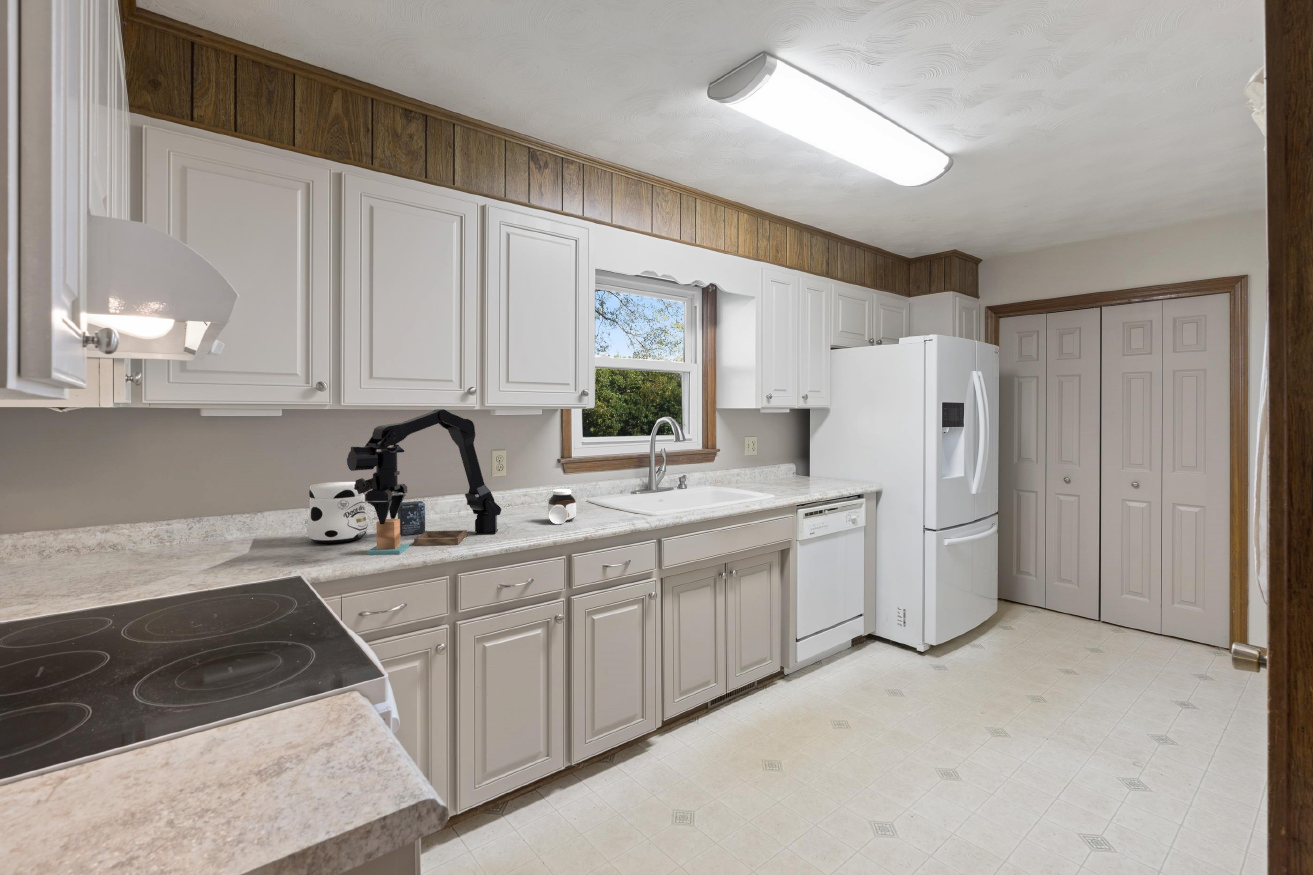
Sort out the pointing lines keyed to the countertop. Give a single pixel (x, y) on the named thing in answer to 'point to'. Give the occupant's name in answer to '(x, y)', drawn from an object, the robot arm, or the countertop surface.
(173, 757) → the countertop surface
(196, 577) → the countertop surface
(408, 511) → the box
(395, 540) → the block
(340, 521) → the milk container
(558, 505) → the spread jar
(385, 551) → the plate
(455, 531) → the pocket frame
